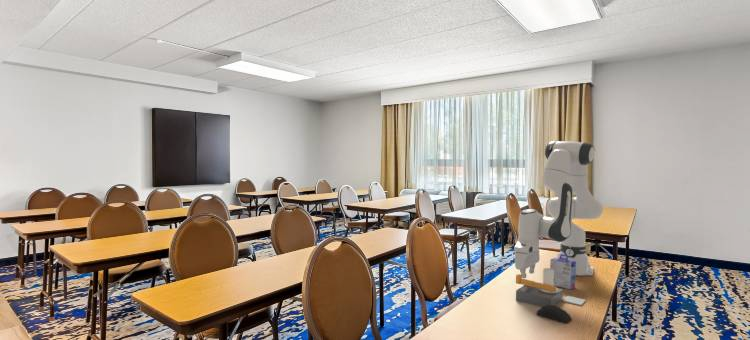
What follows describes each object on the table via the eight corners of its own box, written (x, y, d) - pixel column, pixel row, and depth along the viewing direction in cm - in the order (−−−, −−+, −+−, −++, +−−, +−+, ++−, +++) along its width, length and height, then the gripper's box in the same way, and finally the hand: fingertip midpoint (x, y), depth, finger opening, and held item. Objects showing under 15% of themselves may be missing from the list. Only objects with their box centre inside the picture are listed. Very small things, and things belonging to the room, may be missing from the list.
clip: (517, 281, 168) (517, 273, 168) (556, 290, 157) (557, 282, 157) (514, 283, 166) (515, 275, 166) (554, 292, 155) (555, 283, 155)
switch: (529, 290, 172) (529, 279, 172) (562, 298, 163) (562, 286, 163) (515, 299, 161) (516, 288, 161) (550, 309, 152) (550, 296, 151)
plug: (541, 295, 166) (542, 265, 166) (560, 300, 161) (561, 269, 161) (535, 300, 161) (536, 269, 160) (554, 305, 156) (555, 273, 155)
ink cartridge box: (576, 287, 177) (576, 256, 176) (571, 290, 173) (571, 258, 173) (554, 282, 184) (555, 252, 184) (549, 284, 181) (549, 254, 180)
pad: (567, 297, 165) (567, 295, 165) (585, 301, 160) (585, 299, 160) (562, 301, 159) (562, 300, 159) (581, 306, 155) (581, 304, 155)
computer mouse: (542, 311, 150) (542, 301, 150) (572, 320, 142) (572, 309, 142) (535, 315, 146) (535, 305, 146) (566, 325, 138) (566, 314, 138)
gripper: (529, 240, 183) (529, 269, 184) (512, 248, 168) (511, 279, 169) (543, 242, 179) (542, 271, 179) (526, 250, 164) (526, 282, 164)
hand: (527, 275), depth 174 cm, fingers open, 8 cm apart
